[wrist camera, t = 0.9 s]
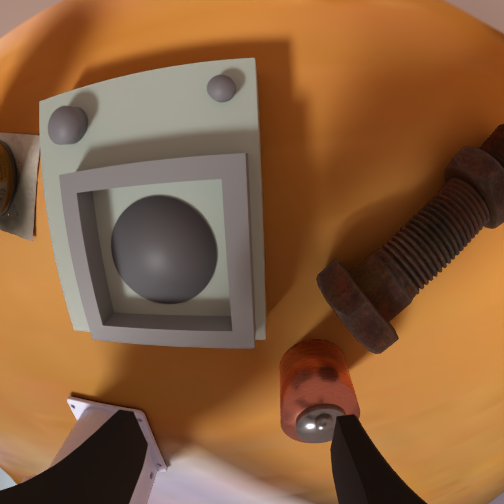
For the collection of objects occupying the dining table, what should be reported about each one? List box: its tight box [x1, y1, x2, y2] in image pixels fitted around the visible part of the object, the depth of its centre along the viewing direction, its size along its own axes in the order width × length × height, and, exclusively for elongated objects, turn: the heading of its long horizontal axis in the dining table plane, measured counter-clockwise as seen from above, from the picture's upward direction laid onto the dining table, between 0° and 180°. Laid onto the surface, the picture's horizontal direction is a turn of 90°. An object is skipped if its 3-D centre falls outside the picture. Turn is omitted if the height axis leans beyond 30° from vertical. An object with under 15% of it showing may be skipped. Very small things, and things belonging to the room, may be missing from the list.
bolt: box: [317, 124, 504, 354], centre depth 14 cm, size 6×5×15 cm
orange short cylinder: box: [280, 340, 360, 443], centre depth 17 cm, size 4×4×6 cm
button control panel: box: [39, 58, 266, 349], centre depth 15 cm, size 14×12×4 cm
